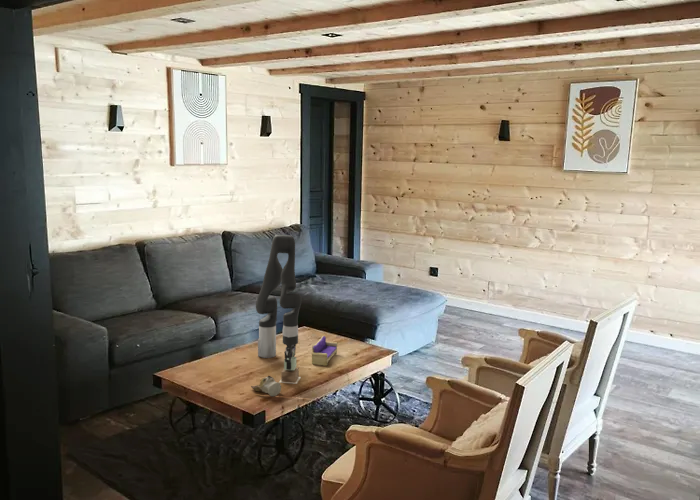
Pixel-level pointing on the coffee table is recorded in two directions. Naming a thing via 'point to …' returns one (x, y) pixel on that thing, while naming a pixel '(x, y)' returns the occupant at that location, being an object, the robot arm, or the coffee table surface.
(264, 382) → the ceramic sculpture
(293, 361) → the sage cube
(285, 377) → the walnut base block
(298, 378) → the mat
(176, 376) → the coffee table surface
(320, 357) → the toy sofa
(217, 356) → the coffee table surface
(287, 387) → the coffee table surface
